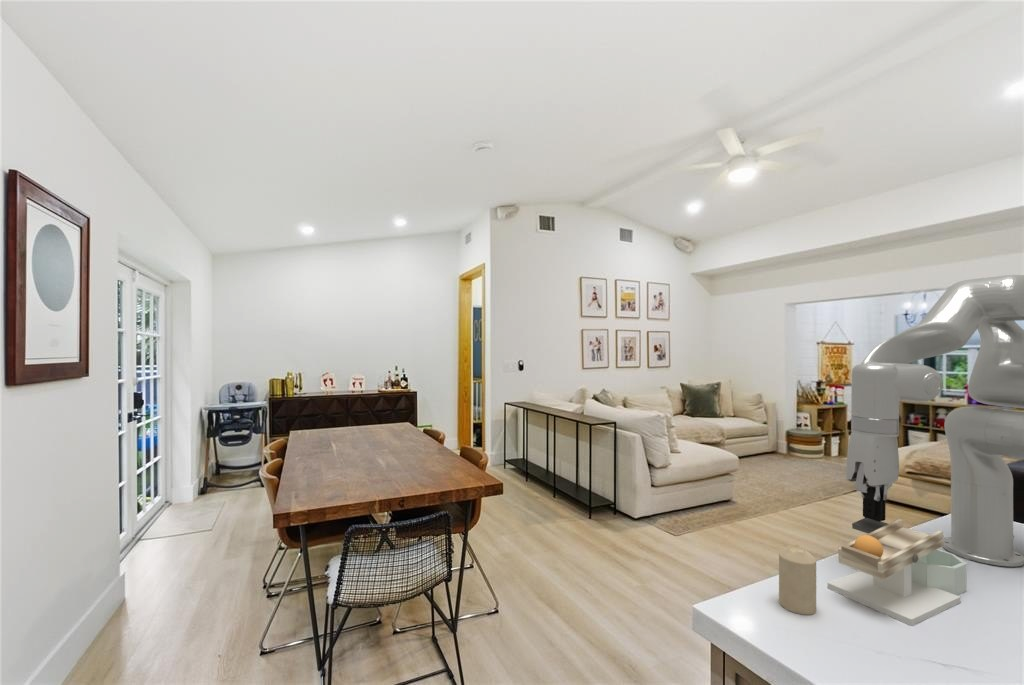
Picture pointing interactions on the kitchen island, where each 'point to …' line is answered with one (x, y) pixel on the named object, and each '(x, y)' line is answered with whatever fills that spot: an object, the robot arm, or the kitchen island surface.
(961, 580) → the pale green bowl
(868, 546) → the ball
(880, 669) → the kitchen island surface
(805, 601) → the candle
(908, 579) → the lever stand
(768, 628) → the kitchen island surface
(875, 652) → the kitchen island surface
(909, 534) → the lever
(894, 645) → the kitchen island surface
